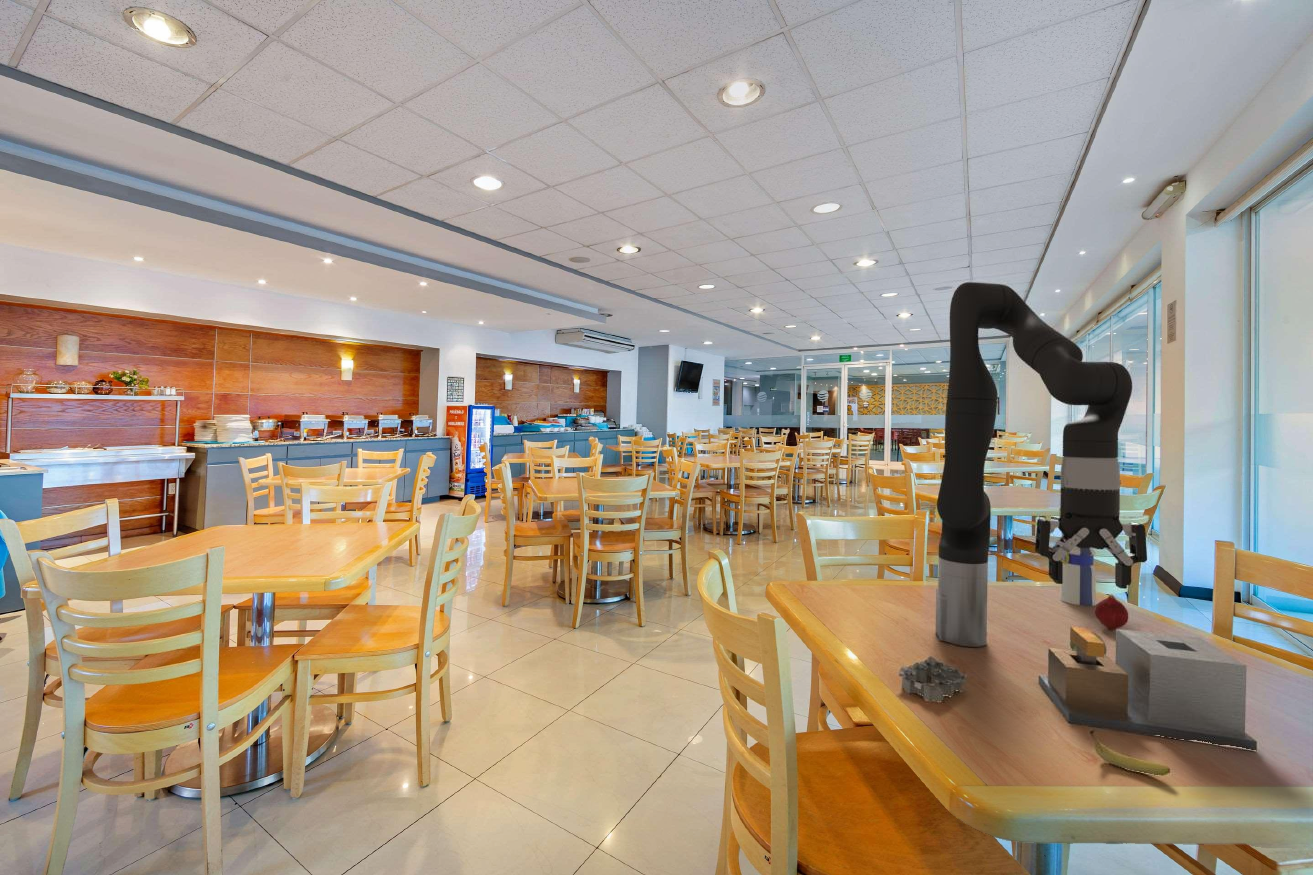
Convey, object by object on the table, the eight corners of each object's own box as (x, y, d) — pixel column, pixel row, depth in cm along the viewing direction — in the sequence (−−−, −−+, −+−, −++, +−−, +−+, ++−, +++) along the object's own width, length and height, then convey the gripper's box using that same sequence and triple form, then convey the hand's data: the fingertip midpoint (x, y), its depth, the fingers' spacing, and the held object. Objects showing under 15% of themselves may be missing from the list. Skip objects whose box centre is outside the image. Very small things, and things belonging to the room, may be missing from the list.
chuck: (1068, 722, 83) (1070, 648, 83) (1038, 682, 97) (1039, 618, 96) (1256, 751, 76) (1258, 670, 76) (1196, 704, 89) (1197, 634, 89)
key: (1103, 695, 85) (1104, 643, 85) (1086, 693, 86) (1087, 641, 85) (1085, 676, 91) (1086, 627, 91) (1069, 674, 92) (1070, 626, 92)
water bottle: (1069, 605, 139) (1071, 508, 139) (1051, 595, 148) (1053, 503, 147) (1105, 607, 138) (1107, 509, 138) (1085, 597, 147) (1087, 504, 146)
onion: (1135, 634, 120) (1136, 598, 120) (1108, 634, 120) (1109, 598, 120) (1113, 625, 125) (1114, 590, 125) (1088, 625, 126) (1088, 590, 125)
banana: (1087, 761, 74) (1088, 732, 74) (1088, 755, 75) (1088, 726, 75) (1170, 786, 69) (1171, 755, 69) (1169, 779, 70) (1169, 749, 70)
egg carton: (934, 708, 88) (934, 683, 88) (893, 688, 95) (894, 665, 95) (972, 691, 94) (972, 668, 94) (930, 674, 100) (931, 652, 100)
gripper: (1132, 484, 89) (1131, 582, 89) (1030, 481, 94) (1029, 575, 94) (1156, 489, 82) (1155, 596, 82) (1045, 486, 87) (1044, 587, 87)
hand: (1088, 585), depth 88 cm, fingers open, 8 cm apart
